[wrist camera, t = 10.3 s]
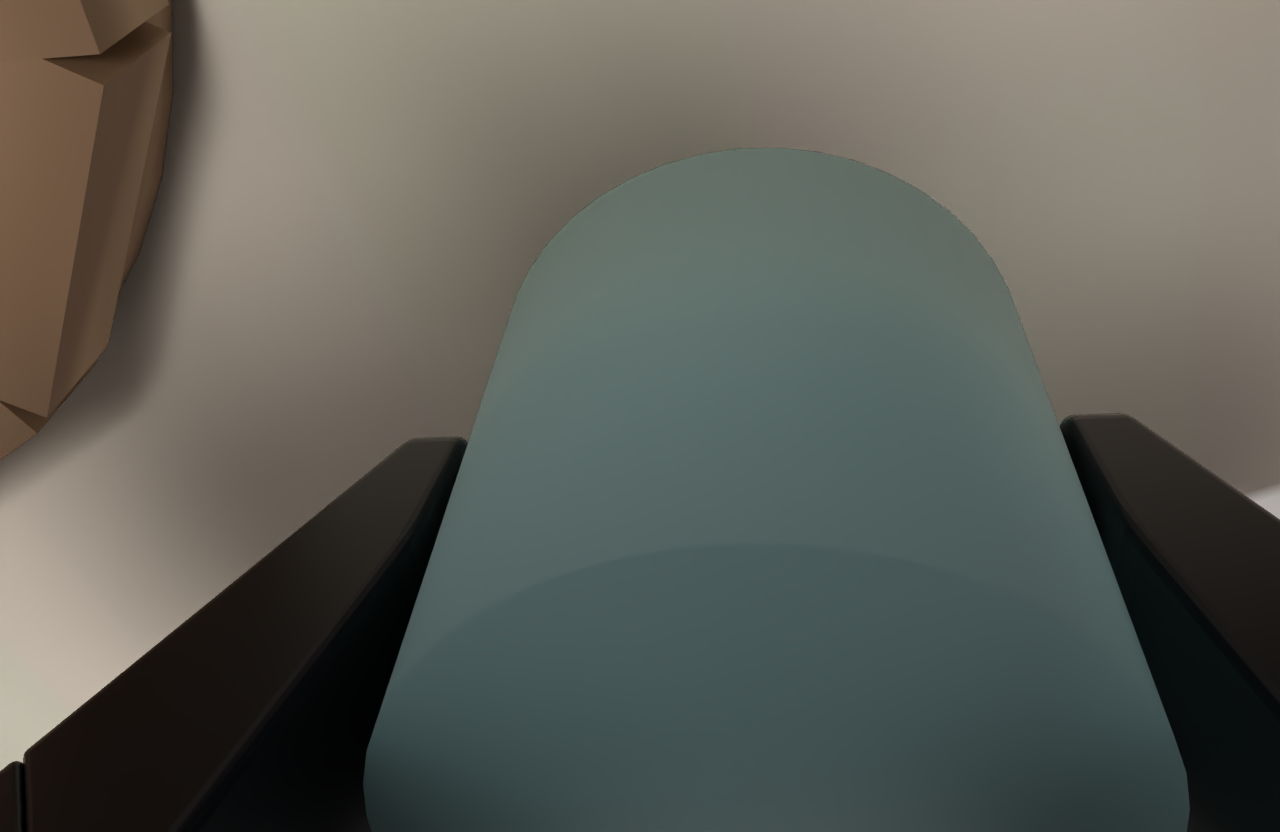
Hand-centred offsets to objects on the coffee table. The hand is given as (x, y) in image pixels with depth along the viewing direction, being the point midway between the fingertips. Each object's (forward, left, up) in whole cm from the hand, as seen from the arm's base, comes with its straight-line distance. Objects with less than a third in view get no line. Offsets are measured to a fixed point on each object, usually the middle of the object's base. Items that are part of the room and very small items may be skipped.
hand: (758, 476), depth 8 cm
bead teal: (0, 0, -1) cm, 1 cm away
